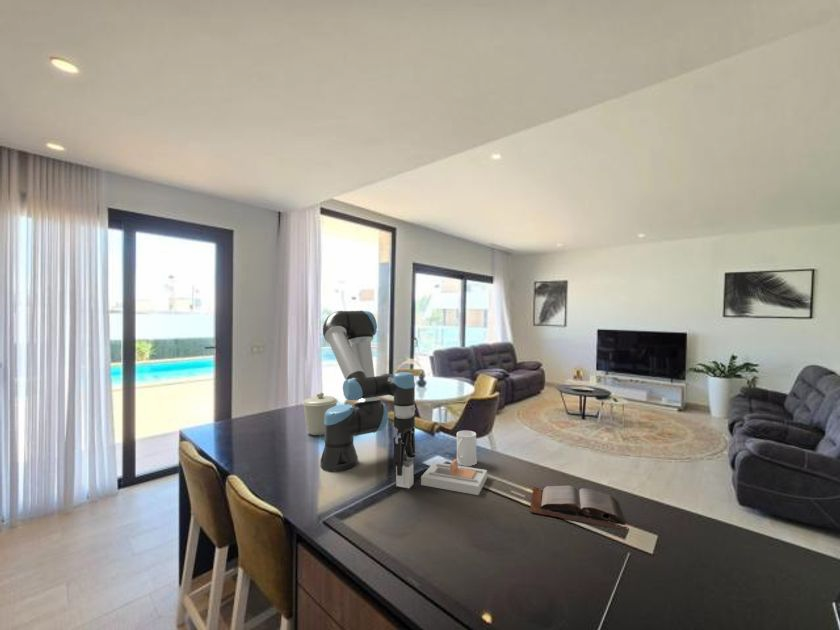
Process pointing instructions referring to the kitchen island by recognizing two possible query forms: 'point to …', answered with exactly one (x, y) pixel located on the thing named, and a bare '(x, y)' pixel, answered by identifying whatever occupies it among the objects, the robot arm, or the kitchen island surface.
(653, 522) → the kitchen island surface
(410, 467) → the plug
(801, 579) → the kitchen island surface
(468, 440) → the mug
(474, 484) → the white tray
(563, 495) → the book
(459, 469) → the shutter
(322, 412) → the canister
